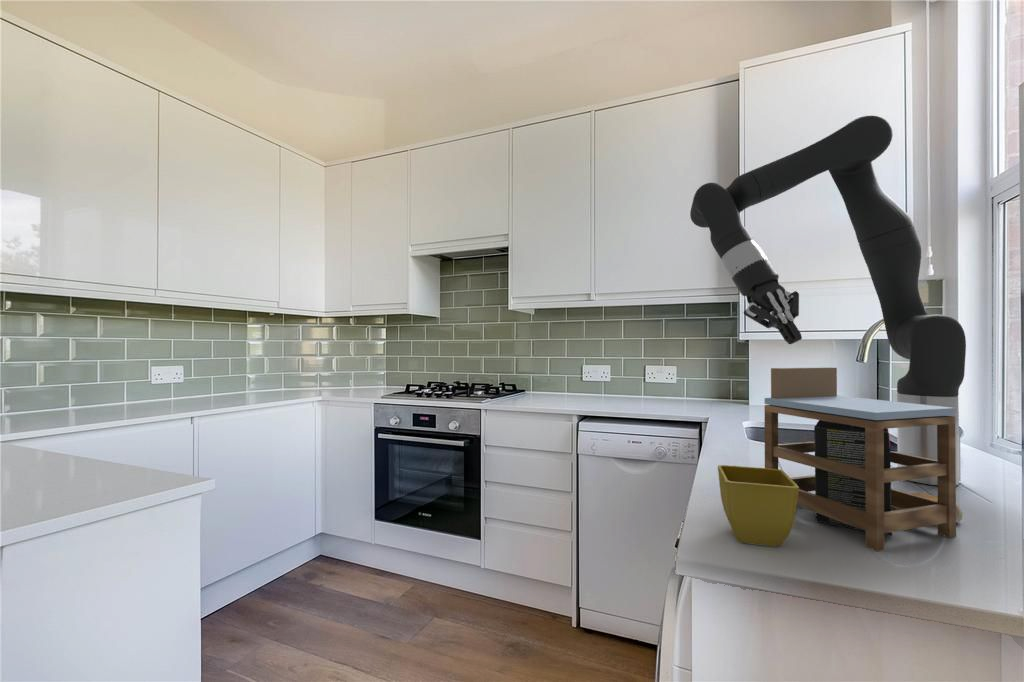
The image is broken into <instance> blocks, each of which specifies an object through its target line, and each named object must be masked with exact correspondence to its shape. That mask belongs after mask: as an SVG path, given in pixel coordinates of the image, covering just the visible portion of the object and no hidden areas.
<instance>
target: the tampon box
mask: <svg viewBox="0 0 1024 682" xmlns="http://www.w3.org/2000/svg"><path fill="white" fill-rule="evenodd" d="M813 430H814V433H813V437H814V438H813V440H814V441H815V452H814V455H815V456H819V457H823V458H827V459H831V460H835V461H839V462H843V463H847V464H851V465H856V466H860V467H864V468H865V427H858V426H852V425H846V424H840V423H834V422H828V421H822V420H817V423H816V424H815V425H814V429H813ZM890 451H891V439H890V433H889V428H888V429H884V469H886V468H892V467H891V464H892V462H890ZM814 475H815V492H814V494H815V495H818V496H821V497H824V498H827V499H830V500H834V501H837V502H840V503H843V504H846V505H849V506H852V507H855V508H858V509H861V510H864V511H866V489H865V481H863V480H859V479H855V478H852V477H848V476H844V475H840V474H837V473H833V472H829V471H826V470H822V469H818V468H815V467H814ZM891 488H892V482H888V483H884V512H889V511H892V506H891ZM814 513H815V522H819V523H824V524H825V523H826V524H828V525H829V524H830V525H833V526H838V527H844V528H849V529H854V530H858V531H862V532H863V531H864V530H862V529H859V528H856V527H854V526H851V525H848V524H845V523H843V522H840V521H837V520H835V519H832V518H829V517H827V516H824V515H821V514H819V513H816V512H814ZM864 532H865V531H864ZM884 536H889V537H890V536H891V537H892V536H893V532H890V533H884Z"/></svg>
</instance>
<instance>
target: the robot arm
mask: <svg viewBox="0 0 1024 682" xmlns="http://www.w3.org/2000/svg"><path fill="white" fill-rule="evenodd" d="M893 131H894V130H893V127H892V126H891V124H890V122H889V121H887V120H886V119H885V118H884V117H881V116H878V115H863V116H860V117H857V118H854V119H853V120H851V121H850V122H848V123H847V124H846V125H844V126H843V127H841V128H839V129H837V130H836V131H835V132H833V133H831V134H829V135H827V136H826V137H824V138H821V139H820V140H817V141H816V142H814V143H812V144H810V145H809V146H806V147H804V148H801V149H800V150H797V151H795V152H793V153H791V154H789V155H786V156H784V157H781V158H779V159H776V160H773V161H772V162H769V163H766V164H763V165H762V166H759V167H757V168H754V169H752V170H750V171H748V172H745V173H743V174H740V175H739V176H737V177H736V178H734V179H733V181H732V182H731V183H730V184H729V185H728V186H727V187H724V186H723V185H722V184H720V183H717V182H707V183H704V184H702V185H700V186H699V188H697V189H696V191H695V193H694V195H693V199H692V203H691V207H690V210H689V211H690V212H689V213H690V214H689V216H690V219H691V221H692V223H693V224H694V225H695V226H696V227H698V228H699V227H700V228H703V229H704V228H708V229H709V233H710V243H711V244H712V246H713V249H714V250H715V252H716V253H717V255H718V256H719V258H720V260H721V262H722V264H723V266H724V268H725V270H726V272H727V273H728V275H729V276H730V278H731V280H732V281H733V282H732V283H734V285H735V286H736V288H737V290H738V291H739V293H740V294H741V296H742V297H746V300H747V303H748V306H747V308H746V309H745V310H744V311H743V315H744V316H746V318H749V319H751V320H753V321H754V322H756V323H758V324H759V325H761V326H763V327H765V328H767V329H770V328H775V329H776V330H777V331H778V332H779V333H780V335H781V337H782V338H783V339H784V341H785V342H786V343H787V344H788V345H792V344H795V343H796V344H797V342H800V341H801V340H802V339H803V337H802V333H801V331H800V329H799V328H798V327H797V325H796V324H795V322H794V320H795V319H796V318H797V317H799V315H800V294H799V292H798V291H797V290H795V291H793V292H790V291H787V290H786V288H785V287H784V286H783V285H782V284H781V283H779V277H780V276H779V274H778V272H777V270H776V269H775V267H774V266H773V265H772V263H771V262H770V260H769V259H768V257H767V255H766V254H765V253H764V251H763V249H762V248H761V247H760V246H759V244H757V243H756V242H755V240H754V239H753V237H752V236H751V234H750V232H749V231H748V230H747V228H746V227H745V226H744V224H743V222H742V219H741V216H740V213H742V212H743V211H744V210H745V209H748V208H750V207H752V206H754V205H758V204H761V203H763V202H765V201H767V200H770V199H772V198H774V197H777V196H779V195H781V194H783V193H786V192H788V191H789V190H791V189H792V188H795V187H797V186H799V185H800V184H802V183H804V182H806V181H808V180H810V179H812V178H814V177H816V176H818V175H820V174H822V173H824V172H829V174H830V176H831V177H832V180H833V182H834V184H835V186H836V187H837V190H838V191H839V193H840V196H841V198H842V200H843V202H844V205H845V208H846V211H847V214H848V217H849V219H850V222H851V225H852V227H853V230H854V233H855V237H856V239H857V243H858V246H859V249H860V253H861V254H862V257H863V260H864V261H865V263H866V267H867V269H868V271H869V272H868V273H869V275H870V277H871V282H872V284H873V287H874V290H875V292H876V295H877V297H878V301H879V305H880V308H881V309H880V310H881V313H882V314H881V315H882V318H883V324H884V327H885V332H886V337H887V340H888V342H889V343H888V344H889V346H890V348H891V349H892V350H893V351H894V353H895V354H896V355H898V356H899V357H901V358H902V359H906V360H909V365H908V370H907V373H906V374H905V375H904V376H902V377H901V378H899V379H898V381H897V384H896V400H897V401H896V402H904V403H913V404H922V405H932V406H941V407H951V408H955V415H949V416H955V446H956V486H959V485H960V482H961V478H962V477H961V474H962V473H961V434H960V432H959V431H960V430H959V429H960V428H959V426H960V422H959V421H960V418H959V417H960V414H959V412H960V411H959V408H960V407H959V405H960V404H959V392H960V390H959V389H960V387H961V386H962V384H963V381H964V379H965V378H964V377H965V372H966V371H965V369H966V368H965V367H966V354H967V352H966V351H967V340H966V333H965V330H964V328H963V326H962V325H961V323H960V322H959V321H958V320H957V319H955V318H954V317H952V316H951V315H950V316H949V315H947V314H936V313H935V314H928V313H927V311H926V309H925V305H924V304H923V301H922V298H921V296H920V292H919V291H920V290H919V277H920V272H921V271H920V270H921V264H922V263H921V261H922V247H921V243H920V239H919V237H918V233H917V231H916V229H915V226H914V223H913V221H912V218H911V217H910V215H909V214H908V213H907V212H906V210H905V209H904V208H902V206H901V205H899V204H898V203H897V202H896V201H895V200H894V199H893V198H892V197H890V196H889V195H888V194H887V192H885V191H884V189H883V188H882V187H881V185H880V182H879V181H878V179H877V176H876V173H875V170H874V165H873V162H874V161H875V160H877V158H879V157H880V156H882V154H884V153H885V151H886V150H887V149H888V148H889V146H890V145H891V142H892V140H893V137H894V133H893ZM896 429H897V430H896V431H897V432H896V433H897V434H896V435H897V438H896V439H897V452H898V453H903V454H908V455H913V456H918V457H923V458H928V459H933V460H937V425H928V426H915V427H902V428H896ZM904 466H905V465H901V464H897V467H904ZM909 481H910V482H914V483H920V484H925V485H932V486H938V483H937V476H936V477H928V478H920V479H912V480H909Z"/></svg>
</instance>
